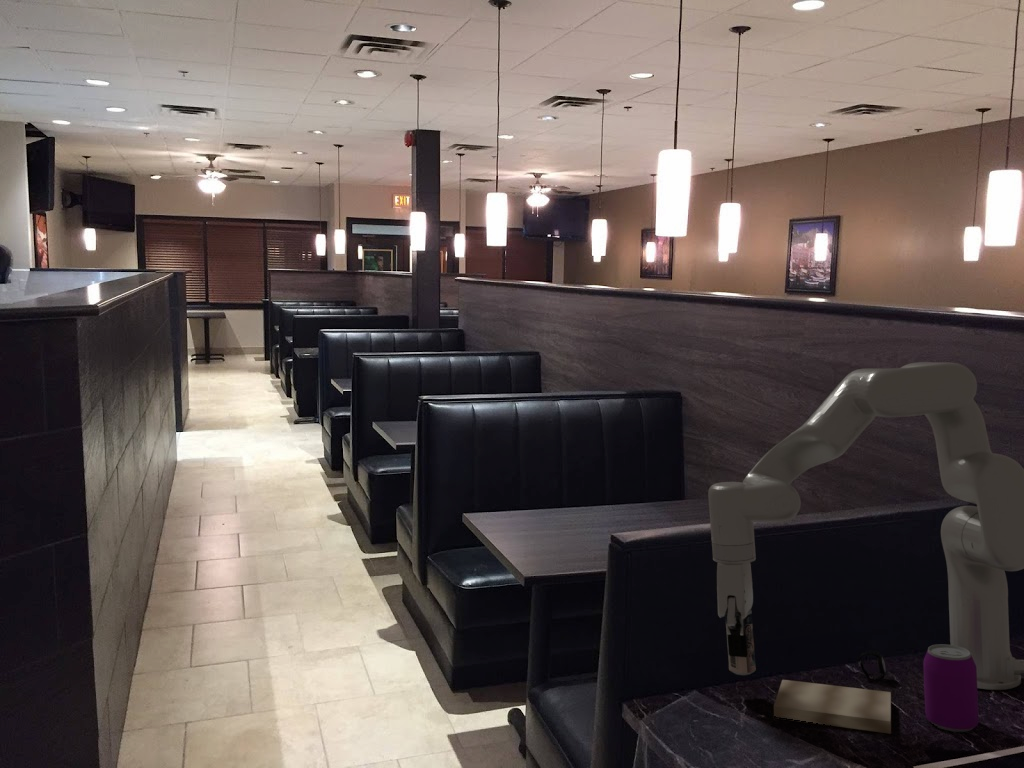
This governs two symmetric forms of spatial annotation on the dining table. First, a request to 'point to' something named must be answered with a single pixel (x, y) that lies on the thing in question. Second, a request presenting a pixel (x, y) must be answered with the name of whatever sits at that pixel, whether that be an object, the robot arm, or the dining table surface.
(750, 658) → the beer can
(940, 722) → the beverage can
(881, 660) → the smartwatch
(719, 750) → the dining table surface
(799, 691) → the birch board
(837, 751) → the dining table surface
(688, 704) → the dining table surface
